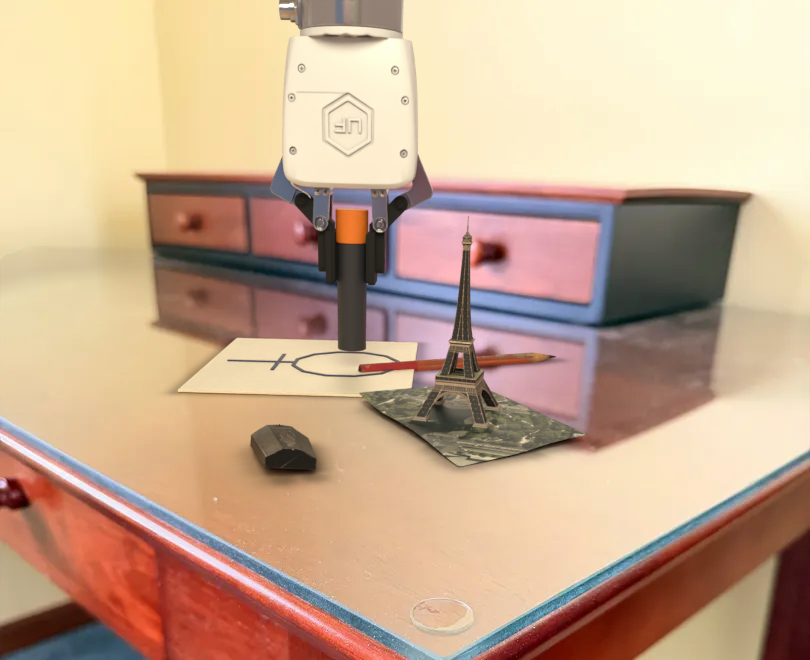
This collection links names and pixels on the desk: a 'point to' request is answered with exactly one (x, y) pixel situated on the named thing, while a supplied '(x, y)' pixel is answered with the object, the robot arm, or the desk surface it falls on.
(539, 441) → the eiffel tower figurine
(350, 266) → the marker
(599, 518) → the desk surface
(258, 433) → the block
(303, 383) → the paper
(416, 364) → the pencil
